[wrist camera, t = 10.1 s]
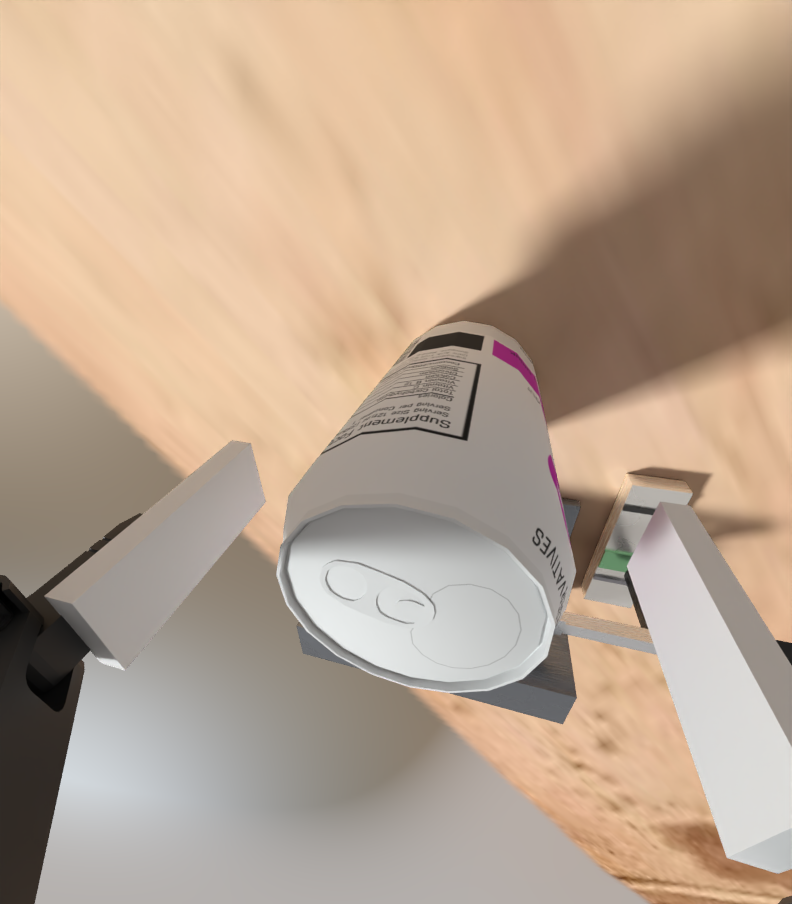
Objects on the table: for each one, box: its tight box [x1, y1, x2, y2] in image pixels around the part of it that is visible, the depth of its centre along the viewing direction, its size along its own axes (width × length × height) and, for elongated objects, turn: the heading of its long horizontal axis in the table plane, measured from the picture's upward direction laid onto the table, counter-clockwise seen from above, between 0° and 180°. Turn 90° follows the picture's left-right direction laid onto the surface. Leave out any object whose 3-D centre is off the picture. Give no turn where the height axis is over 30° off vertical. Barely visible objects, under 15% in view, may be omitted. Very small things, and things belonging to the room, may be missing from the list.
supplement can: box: [276, 321, 576, 693], centre depth 15 cm, size 8×8×15 cm
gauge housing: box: [297, 473, 693, 724], centre depth 22 cm, size 12×21×9 cm, turn 89°
